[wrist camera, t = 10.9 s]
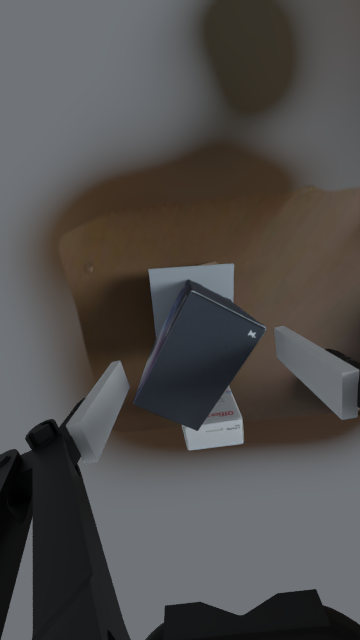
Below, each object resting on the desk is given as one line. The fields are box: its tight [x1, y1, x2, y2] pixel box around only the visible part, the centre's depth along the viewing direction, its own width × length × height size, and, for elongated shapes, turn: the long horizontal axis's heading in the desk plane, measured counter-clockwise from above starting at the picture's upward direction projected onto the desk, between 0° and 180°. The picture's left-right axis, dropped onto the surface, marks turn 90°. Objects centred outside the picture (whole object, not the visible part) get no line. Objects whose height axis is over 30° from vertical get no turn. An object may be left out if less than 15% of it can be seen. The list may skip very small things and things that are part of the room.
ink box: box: [182, 386, 244, 450], centre depth 32 cm, size 8×5×12 cm, turn 100°
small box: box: [133, 279, 266, 431], centre depth 19 cm, size 11×6×10 cm, turn 154°
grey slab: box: [149, 264, 234, 338], centre depth 26 cm, size 10×13×5 cm
